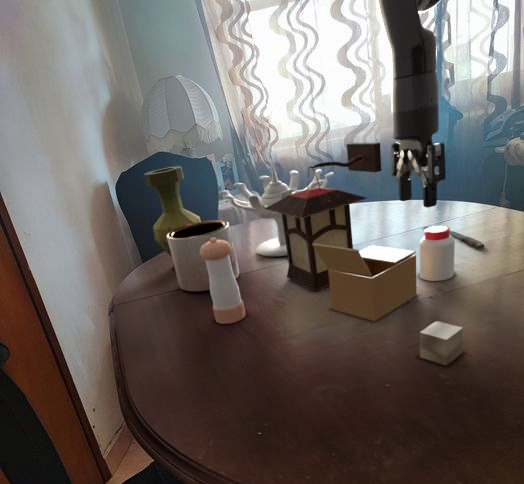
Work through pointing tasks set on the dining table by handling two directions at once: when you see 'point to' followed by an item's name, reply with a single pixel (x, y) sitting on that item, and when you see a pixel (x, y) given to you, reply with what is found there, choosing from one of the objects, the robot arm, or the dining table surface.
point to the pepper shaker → (222, 282)
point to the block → (441, 342)
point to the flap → (342, 259)
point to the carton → (375, 283)
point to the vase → (169, 204)
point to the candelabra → (272, 195)
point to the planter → (197, 252)
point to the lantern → (322, 218)
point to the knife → (466, 239)
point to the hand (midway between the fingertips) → (417, 203)
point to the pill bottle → (436, 254)
